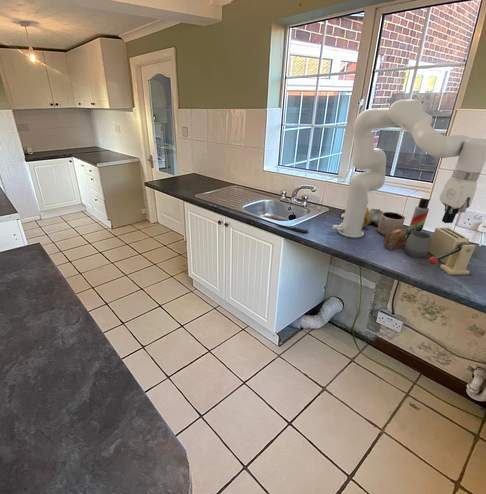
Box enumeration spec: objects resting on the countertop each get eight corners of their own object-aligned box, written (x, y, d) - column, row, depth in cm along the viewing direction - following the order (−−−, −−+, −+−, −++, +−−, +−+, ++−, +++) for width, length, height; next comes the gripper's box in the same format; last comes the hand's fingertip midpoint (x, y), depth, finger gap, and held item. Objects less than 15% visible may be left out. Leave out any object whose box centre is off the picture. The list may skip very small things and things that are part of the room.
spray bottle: (405, 235, 157) (417, 198, 148) (408, 232, 161) (420, 195, 152) (418, 238, 154) (431, 201, 145) (420, 235, 158) (433, 198, 149)
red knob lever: (432, 267, 124) (431, 261, 123) (427, 263, 127) (425, 257, 126) (471, 250, 121) (469, 244, 120) (465, 246, 124) (463, 240, 123)
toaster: (445, 264, 132) (455, 239, 126) (427, 251, 142) (435, 227, 137) (459, 264, 132) (469, 239, 126) (439, 251, 142) (448, 227, 137)
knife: (277, 224, 170) (275, 226, 168) (278, 223, 170) (276, 224, 168) (307, 231, 162) (305, 233, 160) (308, 230, 162) (306, 232, 159)
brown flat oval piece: (386, 251, 142) (391, 235, 138) (380, 248, 145) (384, 232, 141) (406, 244, 148) (411, 228, 145) (400, 241, 151) (405, 226, 147)
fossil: (374, 207, 184) (394, 201, 169) (380, 224, 183) (400, 220, 169) (350, 215, 180) (368, 210, 165) (356, 233, 179) (375, 229, 165)
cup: (411, 260, 135) (418, 239, 130) (398, 250, 143) (404, 230, 139) (431, 258, 136) (439, 238, 131) (416, 249, 144) (423, 229, 140)
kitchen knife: (350, 209, 192) (346, 209, 193) (350, 208, 191) (347, 207, 192) (342, 218, 178) (339, 217, 179) (343, 217, 178) (339, 216, 179)
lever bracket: (449, 274, 124) (461, 246, 119) (439, 266, 130) (450, 239, 124) (469, 274, 125) (481, 246, 119) (458, 266, 130) (469, 239, 124)
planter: (395, 229, 165) (400, 212, 161) (403, 237, 155) (409, 220, 151) (374, 227, 166) (378, 211, 162) (381, 236, 157) (385, 218, 152)
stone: (371, 222, 168) (369, 229, 161) (351, 224, 174) (348, 231, 166) (368, 200, 164) (367, 207, 156) (348, 202, 170) (345, 209, 162)
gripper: (440, 170, 116) (424, 214, 124) (471, 181, 102) (451, 230, 111) (460, 170, 116) (443, 214, 124) (493, 181, 103) (471, 230, 111)
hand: (447, 222), depth 118 cm, fingers closed
